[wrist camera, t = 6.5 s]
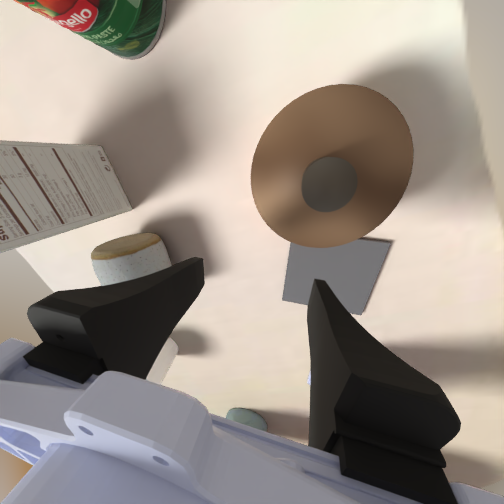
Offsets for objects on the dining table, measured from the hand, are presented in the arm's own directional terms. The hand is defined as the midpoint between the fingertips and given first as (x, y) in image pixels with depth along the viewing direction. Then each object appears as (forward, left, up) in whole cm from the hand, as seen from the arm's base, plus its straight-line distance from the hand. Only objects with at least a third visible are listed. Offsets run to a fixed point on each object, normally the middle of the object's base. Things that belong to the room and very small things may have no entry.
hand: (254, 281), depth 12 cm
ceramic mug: (-6, +16, -10) cm, 20 cm away
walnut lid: (+6, -3, -5) cm, 9 cm away
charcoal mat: (-4, -6, -9) cm, 12 cm away
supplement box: (+3, +22, -10) cm, 24 cm away
